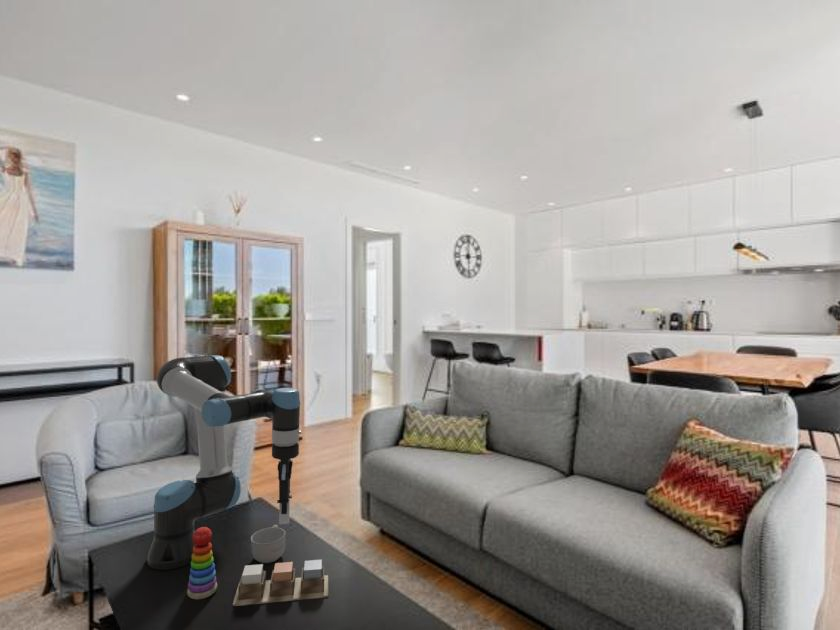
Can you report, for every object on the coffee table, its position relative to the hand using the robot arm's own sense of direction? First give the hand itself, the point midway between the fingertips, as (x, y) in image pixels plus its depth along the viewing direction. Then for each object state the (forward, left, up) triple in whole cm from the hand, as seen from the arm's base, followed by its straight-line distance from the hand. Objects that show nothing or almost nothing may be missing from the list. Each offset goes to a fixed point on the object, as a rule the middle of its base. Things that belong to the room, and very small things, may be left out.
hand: (284, 522), depth 137 cm
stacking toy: (-18, -14, -21) cm, 31 cm away
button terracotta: (0, 0, -17) cm, 17 cm away
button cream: (-6, -6, -17) cm, 19 cm away
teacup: (-18, +10, -21) cm, 29 cm away
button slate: (+6, +6, -17) cm, 19 cm away
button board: (0, 0, -20) cm, 20 cm away
